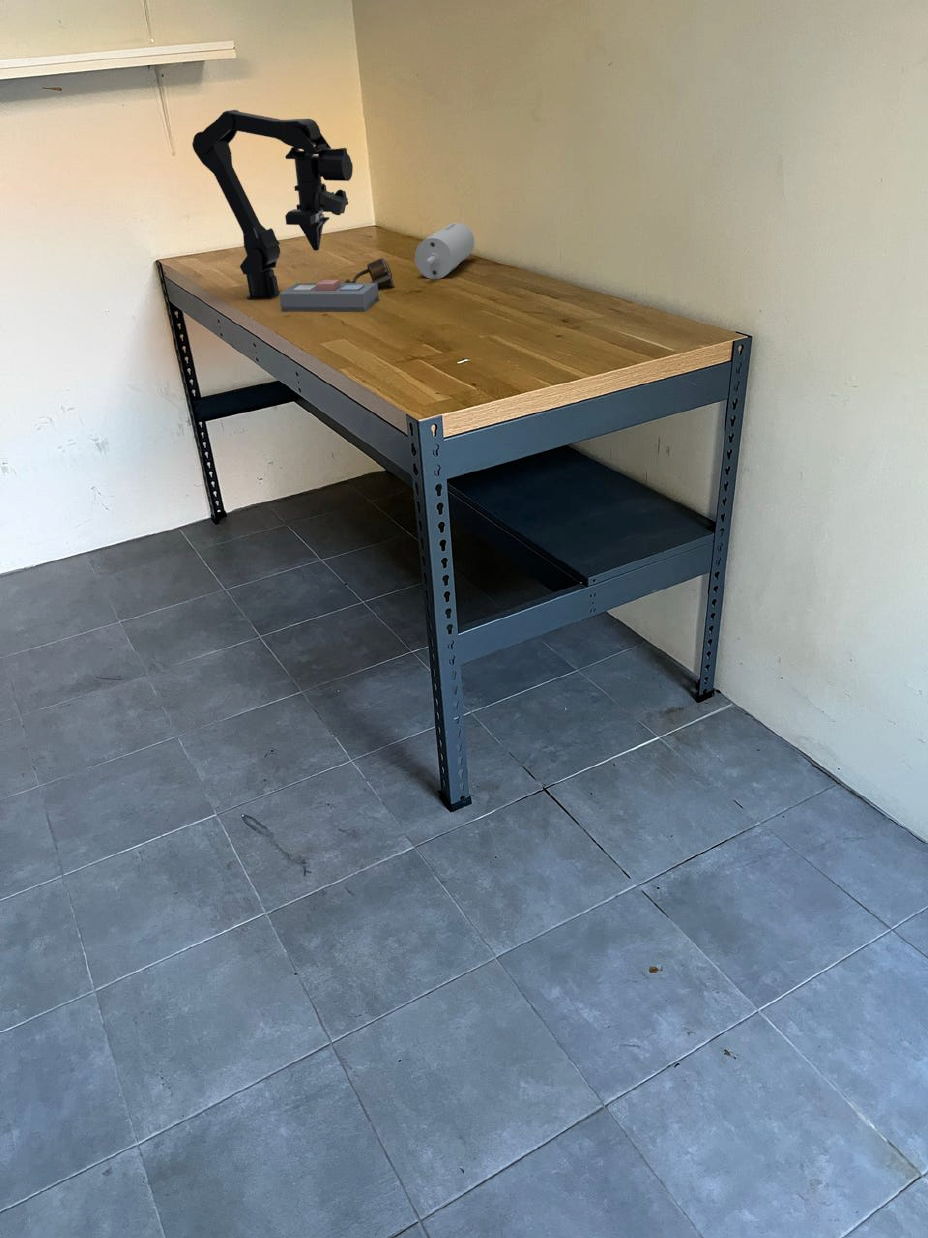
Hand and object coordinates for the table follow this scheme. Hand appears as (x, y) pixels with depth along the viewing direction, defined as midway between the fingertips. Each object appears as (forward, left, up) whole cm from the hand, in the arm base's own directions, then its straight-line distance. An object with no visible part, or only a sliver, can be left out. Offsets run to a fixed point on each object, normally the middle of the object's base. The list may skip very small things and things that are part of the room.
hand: (316, 250), depth 228 cm
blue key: (+11, -8, -10) cm, 17 cm away
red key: (+5, -8, -9) cm, 13 cm away
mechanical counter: (+9, +11, -12) cm, 18 cm away
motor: (+24, +32, -12) cm, 42 cm away
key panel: (+5, -8, -11) cm, 14 cm away
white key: (-1, -8, -10) cm, 13 cm away
